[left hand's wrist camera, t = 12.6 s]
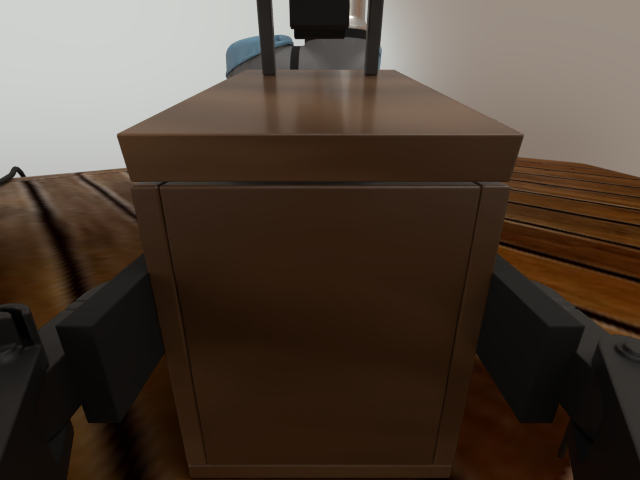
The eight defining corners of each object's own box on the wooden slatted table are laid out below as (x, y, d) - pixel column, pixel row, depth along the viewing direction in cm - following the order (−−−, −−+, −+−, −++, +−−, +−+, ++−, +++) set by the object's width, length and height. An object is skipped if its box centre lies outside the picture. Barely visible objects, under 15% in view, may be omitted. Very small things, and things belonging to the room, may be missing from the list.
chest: (259, 278, 26) (249, 136, 23) (380, 278, 26) (390, 136, 23) (189, 478, 12) (128, 185, 8) (450, 479, 12) (512, 185, 8)
